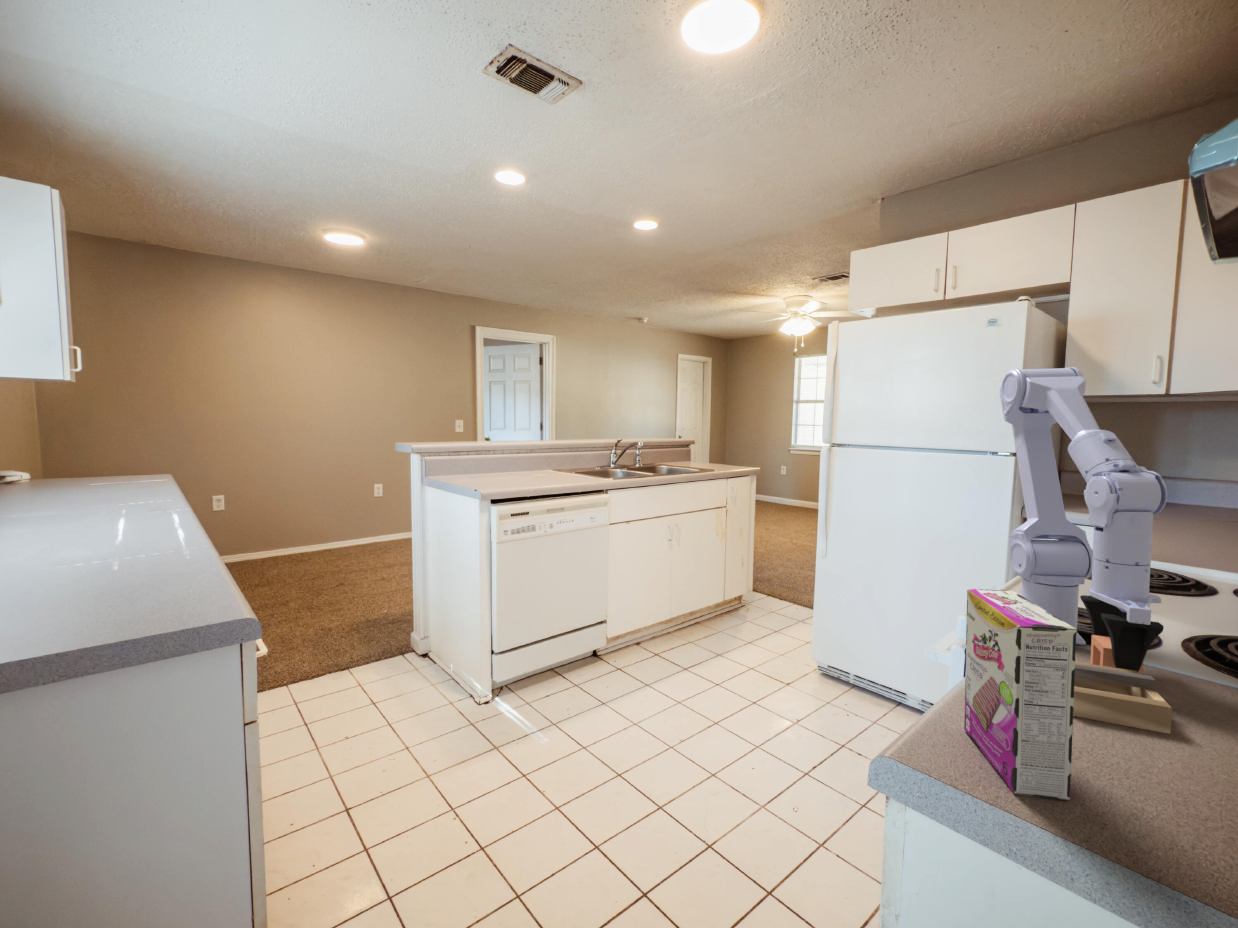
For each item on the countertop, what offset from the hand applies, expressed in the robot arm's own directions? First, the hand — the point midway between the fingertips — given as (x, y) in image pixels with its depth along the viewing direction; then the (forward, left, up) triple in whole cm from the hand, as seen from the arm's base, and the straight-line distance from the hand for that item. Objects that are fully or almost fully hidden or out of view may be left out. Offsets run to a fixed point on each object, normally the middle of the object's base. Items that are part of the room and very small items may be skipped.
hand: (1116, 659), depth 73 cm
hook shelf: (+10, -4, -2) cm, 11 cm away
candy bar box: (+29, -16, -3) cm, 34 cm away
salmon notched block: (0, 0, -2) cm, 2 cm away
